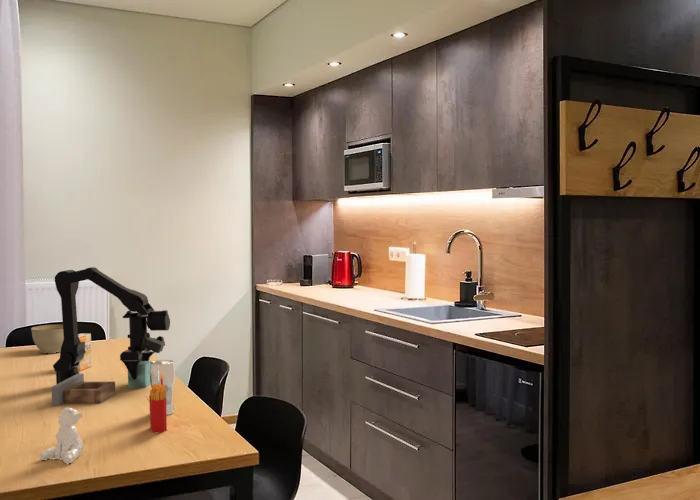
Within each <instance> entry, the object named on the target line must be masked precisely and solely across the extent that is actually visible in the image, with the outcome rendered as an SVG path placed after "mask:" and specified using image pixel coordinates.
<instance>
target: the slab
mask: <svg viewBox="0 0 700 500" xmlns="http://www.w3.org/2000/svg"><path fill="white" fill-rule="evenodd" d="M84 375H85V374H84V373H79V374H76V375H74V376H72V377H70V378H68V379H66V380H64V381H62V382H60V383H58V384H54V385H52V386H51V407H60V406H62V405H63V404H65V403H64V390H66V389H67V388H69V387H71V386H73V385H75V384H77V383H79V382H85V376H84Z"/></svg>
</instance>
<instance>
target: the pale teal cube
mask: <svg viewBox="0 0 700 500" xmlns="http://www.w3.org/2000/svg"><path fill="white" fill-rule="evenodd" d="M151 362H152V361H151V360H149V361H141V362H140V363H139V364H138V372H137V379H136V380H133V378H132V377H131V375H130V373H129V371H128V370H127V384H128V385H127V387H128V389H134V388H135V389H137V388H138V389H140V388H142V389H144V388H145V389H146V388H148V387H149V386H151V383H150V363H151Z"/></svg>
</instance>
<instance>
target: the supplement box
mask: <svg viewBox="0 0 700 500" xmlns="http://www.w3.org/2000/svg"><path fill="white" fill-rule="evenodd" d="M78 337H79V339H80V341H81V342H85V351H86V353H85V354H84V358H83V359H82V360H81V361H80V362H79V365H78V366H76V367H78V372H81V371H83V370H86V369H89V368H92V364H93V363H92V334H91V333H78Z"/></svg>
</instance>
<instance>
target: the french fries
mask: <svg viewBox="0 0 700 500" xmlns="http://www.w3.org/2000/svg"><path fill="white" fill-rule="evenodd" d="M165 387H166V386H165V385H162V384H161V385H160V386H159V384H158V385H157V384H153V385H152V389H150V390H149V396H148V399H149V421H150V431H151V432H152V431H153V432H152V433H155V432H159V433H165V432H166V431H167V427H168V426H167V425H168V423H167V415H166V397H165V392H166V388H165ZM164 431H165V432H164Z"/></svg>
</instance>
